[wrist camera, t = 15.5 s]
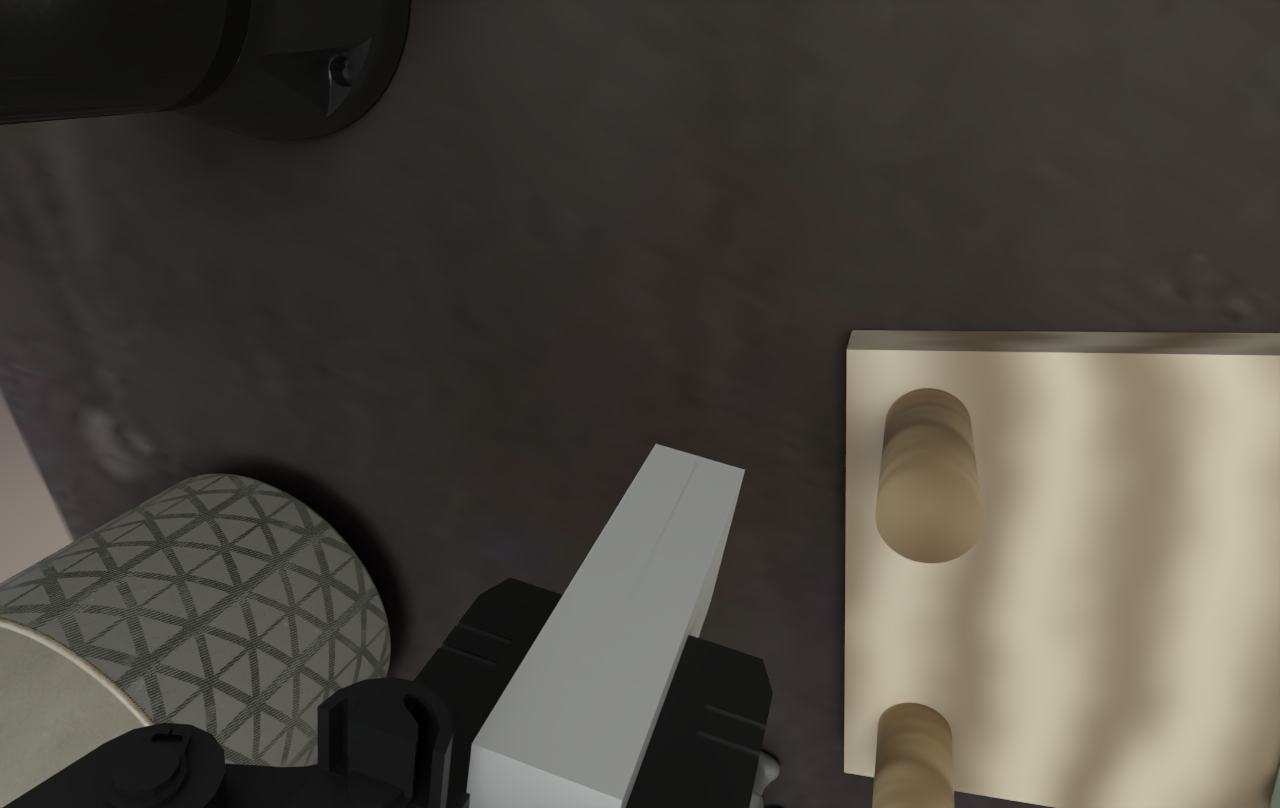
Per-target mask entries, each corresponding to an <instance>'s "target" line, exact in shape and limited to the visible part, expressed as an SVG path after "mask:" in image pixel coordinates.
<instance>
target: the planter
mask: <svg viewBox="0 0 1280 808" xmlns="http://www.w3.org/2000/svg"><path fill="white" fill-rule="evenodd" d="M390 657H391V638H390V629H389V624H388V619H387V615H386V612H385V608H384V605H383V603H382V600H381V597H380V595H379V592H378V590H377V588H376V586H375V584H374V582H373V580H372V578H371V576H370V575H369V573H368V571H367V569H366V568H365V566H364V565H363V563H362V562H361V560H360V559H359V557H358V556H357V554H356V553H355V552H354V551H353V549H352V548H351V547H350V545H349V544H348V543H347V542H346V541H345V540H344V538H343V537H342V536H341V535H340V534H339V533H338V532H337V531H336V530H335V529H334V528H333V527H332V526H331V525H330V524H329V523H328V522H327V521H326V520H325V519H323V518H322V517H321V516H320V515H319V514H317V513H316V512H315V511H314V510H312V509H311V508H310V507H308V506H307V505H305V504H304V503H303V502H301V501H300V500H298V499H296V498H295V497H293V496H291V495H290V494H288V493H286V492H284V491H282V490H280V489H278V488H276V487H274V486H272V485H269V484H267V483H265V482H262V481H259V480H256V479H252V478H249V477H244V476H240V475H233V474H224V473H223V474H205V475H199V476H195V477H191V478H188V479H186V480H183V481H181V482H179V483H177V484H175V485H174V486H172V487H170V488H168V489H167V490H165V491H163V492H161V493H159V494H158V495H156V496H154V497H152V498H151V499H149V500H147V501H145V502H144V503H142V504H140V505H138V506H136V507H135V508H133V509H131V510H129V511H128V512H126V513H124V514H122V515H121V516H119V517H117V518H115V519H113V520H112V521H110V522H108V523H106V524H105V525H103V526H101V527H99V528H98V529H96V530H94V531H92V532H90V533H89V534H87V535H85V536H83V537H82V538H80V539H78V540H76V541H75V542H73V543H71V544H69V545H67V546H66V547H64V548H62V549H60V550H59V551H57V552H55V553H53V554H51V555H50V556H48V557H46V558H44V559H43V560H41V561H39V562H37V563H36V564H34V565H32V566H30V567H29V568H27V569H25V570H23V571H21V572H20V573H18V574H16V575H14V576H13V577H11V578H9V579H8V580H5V581H4V582H2V583H0V808H2V807H4V806H6V805H7V804H9V803H10V802H12V801H13V800H15V799H17V798H18V797H20V796H21V795H23V794H25V793H26V792H28V791H29V790H31V789H32V788H34V787H36V786H37V785H39V784H40V783H42V782H43V781H45V780H47V779H48V778H50V777H51V776H53V775H55V774H56V773H58V772H59V771H61V770H62V769H64V768H66V767H67V766H69V765H70V764H72V763H74V762H75V761H77V760H78V759H80V758H81V757H83V756H85V755H86V754H88V753H89V752H91V751H92V750H94V749H96V748H97V747H99V746H100V745H102V744H104V743H105V742H107V741H110V740H112V739H114V738H116V737H118V736H120V735H122V734H124V733H126V732H128V731H131V730H133V729H136V728H141V727H146V726H151V725H155V724H160V723H175V724H190V725H193V726H195V727H197V728H200V729H202V730H204V731H206V732H208V733H211V734H212V735H213V736H214V738H215V739H216V740H217V742H218V743H219V744H220V745H221V747H222V748H223V749H224V755H225V763H226V764H242V765H258V766H274V767H303V766H310V765H315V764H318V722H317V707H318V706H319V705H320V704H321V703H323V702H324V701H325V700H326V699H328V698H329V697H330V696H331V695H333V694H334V693H335V692H336V691H337V690H339V689H342V688H344V687H347V686H349V685H352V684H354V683H357V682H359V681H362V680H366V679H376V678H386V676H387V673H388V669H389V665H390Z"/></svg>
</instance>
